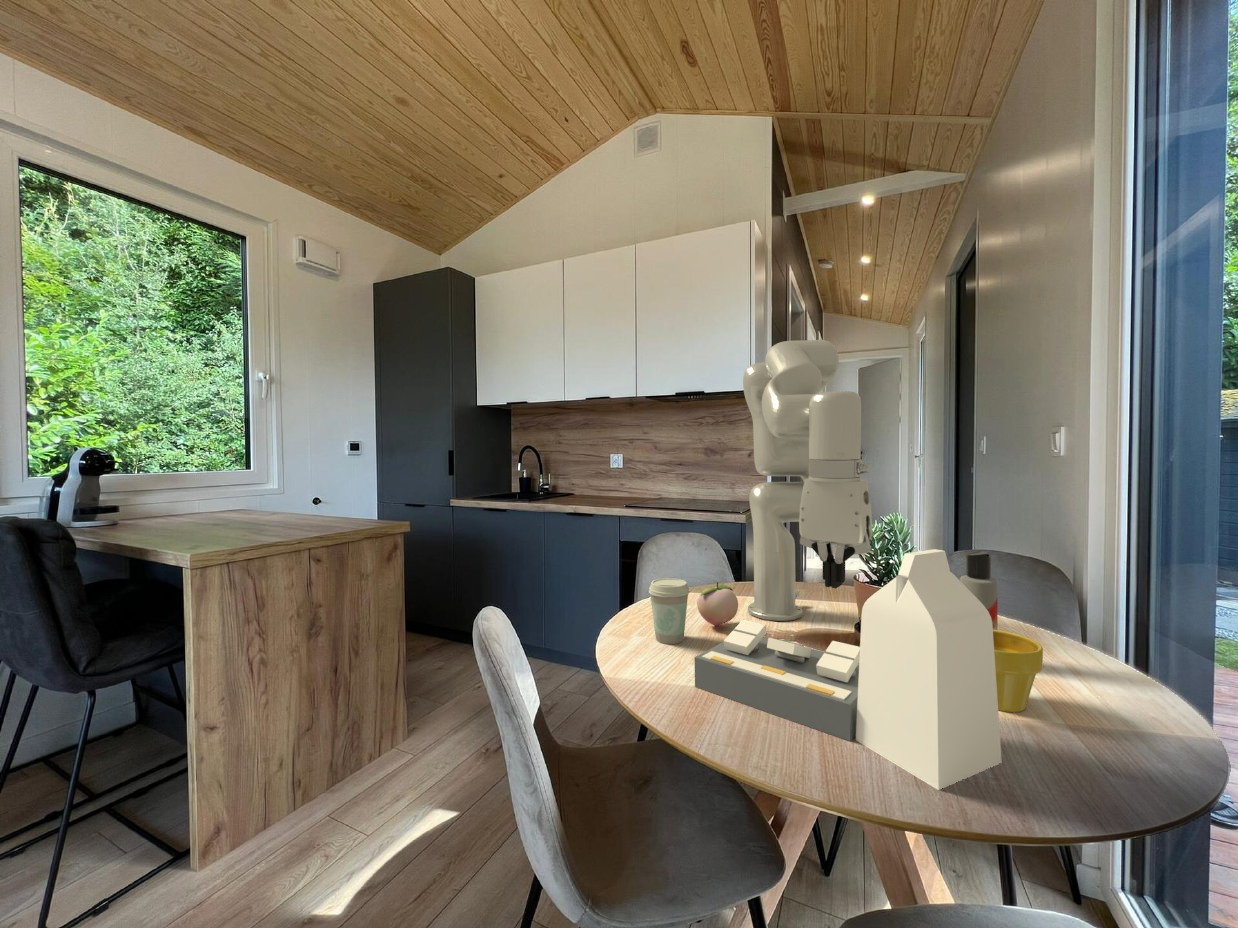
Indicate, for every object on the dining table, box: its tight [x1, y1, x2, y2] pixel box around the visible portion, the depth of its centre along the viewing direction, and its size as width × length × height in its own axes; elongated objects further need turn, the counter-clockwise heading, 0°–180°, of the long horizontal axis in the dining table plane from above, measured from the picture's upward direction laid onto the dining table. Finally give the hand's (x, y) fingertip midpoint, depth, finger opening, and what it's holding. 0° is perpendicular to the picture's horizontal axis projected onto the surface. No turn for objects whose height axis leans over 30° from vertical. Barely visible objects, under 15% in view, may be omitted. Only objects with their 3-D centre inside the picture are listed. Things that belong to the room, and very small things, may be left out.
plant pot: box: [993, 629, 1044, 713], centre depth 80 cm, size 10×10×10 cm
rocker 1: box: [723, 619, 767, 655], centre depth 90 cm, size 7×4×2 cm, turn 138°
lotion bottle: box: [959, 551, 999, 630], centre depth 96 cm, size 6×6×20 cm
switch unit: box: [694, 636, 859, 742], centre depth 84 cm, size 16×25×6 cm, turn 47°
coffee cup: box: [648, 577, 691, 645], centre depth 109 cm, size 8×9×12 cm
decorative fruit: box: [696, 581, 739, 628], centre depth 116 cm, size 9×8×10 cm
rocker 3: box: [816, 640, 860, 682], centre depth 79 cm, size 7×4×2 cm, turn 138°
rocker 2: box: [767, 637, 812, 658], centre depth 85 cm, size 7×4×2 cm, turn 137°
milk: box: [855, 548, 1003, 791], centre depth 67 cm, size 12×12×26 cm
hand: (833, 585), depth 82 cm, fingers closed
